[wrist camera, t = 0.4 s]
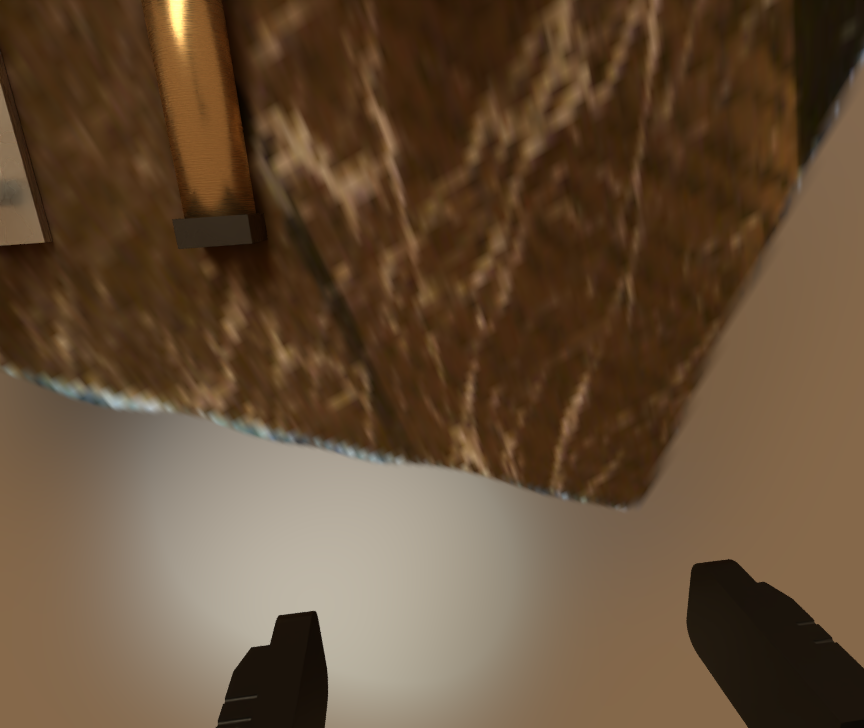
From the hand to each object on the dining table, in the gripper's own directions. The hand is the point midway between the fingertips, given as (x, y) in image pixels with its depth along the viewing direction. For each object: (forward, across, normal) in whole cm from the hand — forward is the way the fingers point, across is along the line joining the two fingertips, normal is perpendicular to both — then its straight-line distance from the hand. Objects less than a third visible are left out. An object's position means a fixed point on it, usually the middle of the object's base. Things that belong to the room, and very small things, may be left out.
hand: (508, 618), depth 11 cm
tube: (+27, +11, -16) cm, 33 cm away
